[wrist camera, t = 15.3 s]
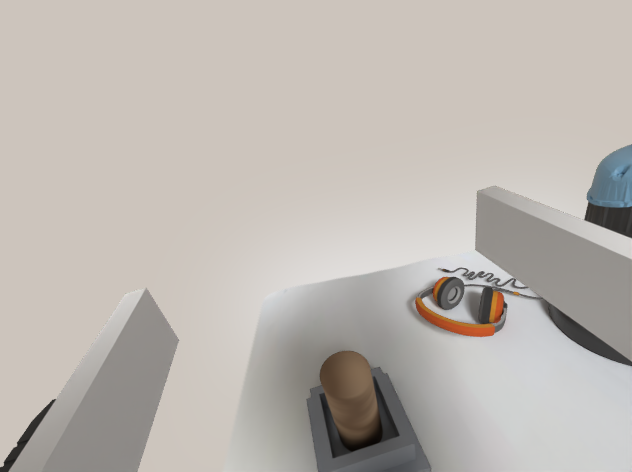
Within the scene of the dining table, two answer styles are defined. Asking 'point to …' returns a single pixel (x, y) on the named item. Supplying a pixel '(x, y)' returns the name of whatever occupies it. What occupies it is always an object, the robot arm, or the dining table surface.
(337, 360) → the walnut cylinder
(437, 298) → the headphones
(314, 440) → the grey square tray
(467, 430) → the dining table surface
